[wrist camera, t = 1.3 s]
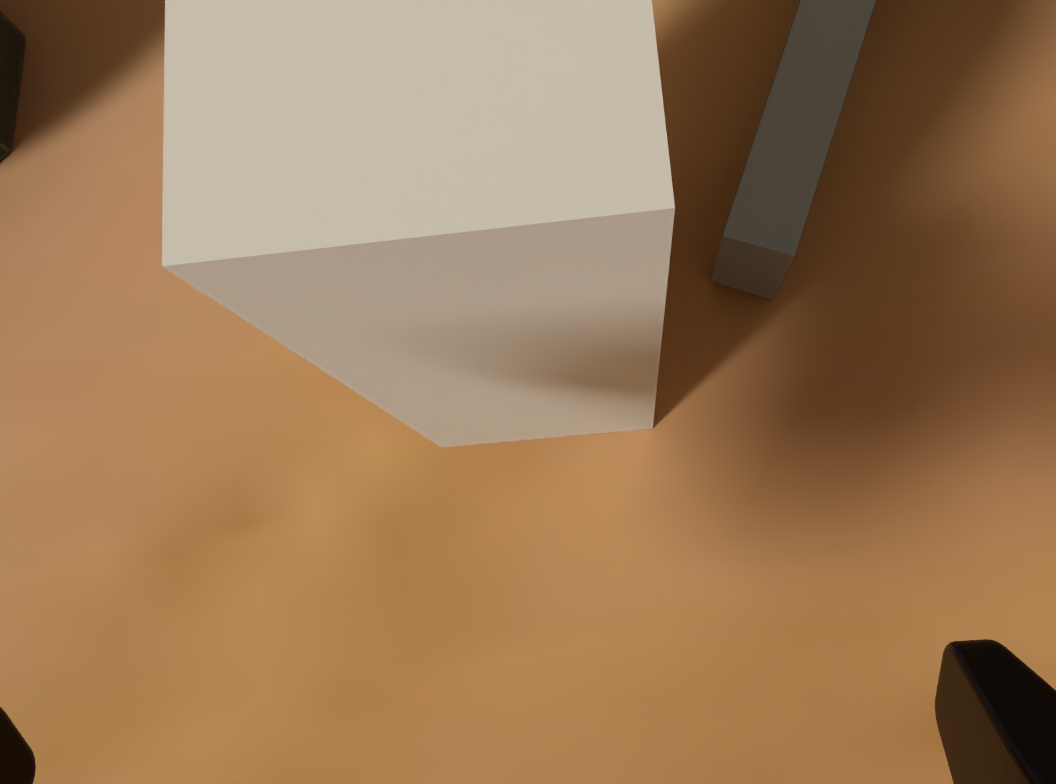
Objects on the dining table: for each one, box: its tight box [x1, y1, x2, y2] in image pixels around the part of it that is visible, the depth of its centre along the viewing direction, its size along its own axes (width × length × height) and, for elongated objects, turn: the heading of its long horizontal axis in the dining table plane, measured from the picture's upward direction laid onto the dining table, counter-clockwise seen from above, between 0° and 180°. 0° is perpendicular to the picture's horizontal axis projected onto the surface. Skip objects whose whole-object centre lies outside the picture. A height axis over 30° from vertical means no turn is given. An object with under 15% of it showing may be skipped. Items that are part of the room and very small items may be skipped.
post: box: [162, 0, 675, 447], centre depth 15 cm, size 5×5×13 cm
